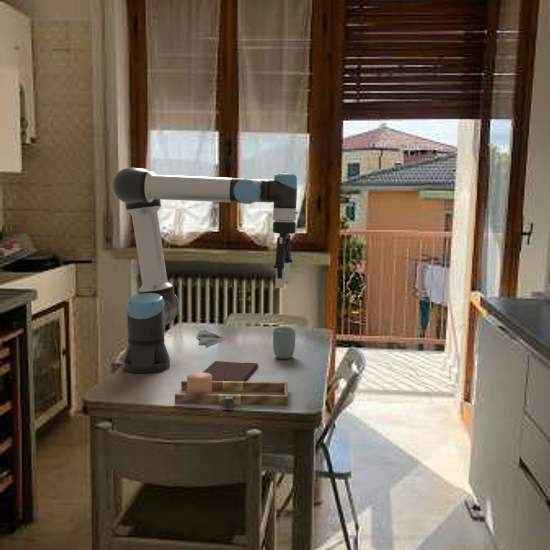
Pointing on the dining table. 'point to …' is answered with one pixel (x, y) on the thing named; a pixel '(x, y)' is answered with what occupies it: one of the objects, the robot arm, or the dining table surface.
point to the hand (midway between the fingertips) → (282, 284)
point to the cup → (283, 342)
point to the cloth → (208, 338)
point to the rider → (199, 383)
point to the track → (237, 398)
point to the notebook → (231, 371)
